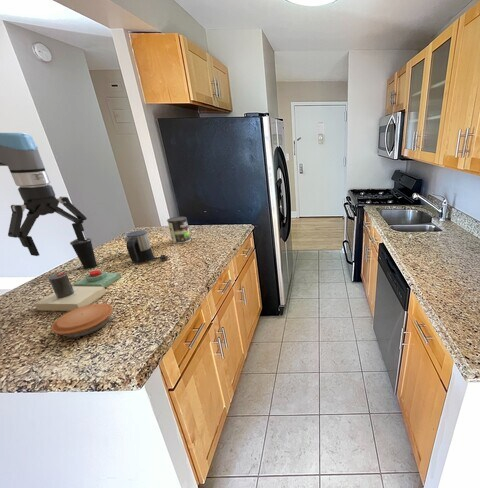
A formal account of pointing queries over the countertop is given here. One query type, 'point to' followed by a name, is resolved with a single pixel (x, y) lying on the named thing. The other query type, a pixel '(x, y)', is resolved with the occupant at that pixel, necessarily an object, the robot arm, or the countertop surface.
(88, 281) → the red push button panel
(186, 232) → the coffee can
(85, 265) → the drinking cup
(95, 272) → the button
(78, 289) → the hob console
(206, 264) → the countertop surface
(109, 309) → the pie
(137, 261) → the milk frother
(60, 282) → the hob knob
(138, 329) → the countertop surface
